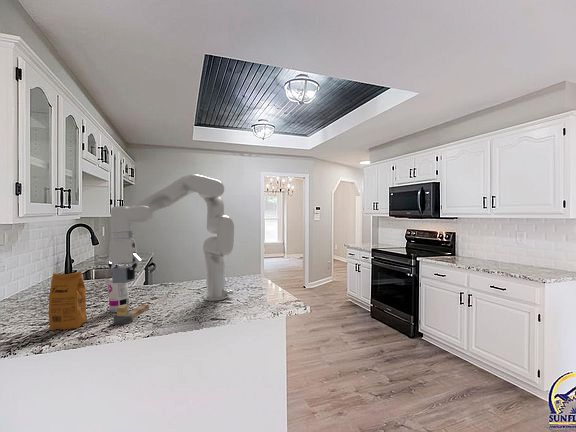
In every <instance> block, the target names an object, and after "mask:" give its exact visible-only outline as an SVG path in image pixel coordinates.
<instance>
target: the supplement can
mask: <svg viewBox="0 0 576 432" xmlns="http://www.w3.org/2000/svg"><path fill="white" fill-rule="evenodd" d="M107 286H108V288H107V289H108V305H109V306H108V307H109V308H108V309H109V311H110V312H111V313H117V307H119V306H121V305H128V309H129V308H130V296H129V282H128V283H113V282H112V277H111V278H109V280H108V282H107Z"/></svg>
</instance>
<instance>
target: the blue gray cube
mask: <svg viewBox="0 0 576 432" xmlns="http://www.w3.org/2000/svg"><path fill="white" fill-rule="evenodd" d="M129 270H130V269H129V267H128V265H118V267H115V268H112V270H111V278H112V282H113V283H128V284H129V283H130V282H133V281H135V280H136V276H135V277H134V279H131V280H129V273H128V271H129Z"/></svg>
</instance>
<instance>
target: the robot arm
mask: <svg viewBox="0 0 576 432" xmlns="http://www.w3.org/2000/svg"><path fill="white" fill-rule="evenodd" d="M224 192H225V186H224V183H223V182H222V181H221V180H219V179H216V178H213V177H207V176H204V175H200V174H196V173H195V174H194V173H192V174H186V175H183V176H181V177H179V178H178V179H175V180H174V181H172V182H170V183H169V184H168V185H166V186H164V187H162V188H161V189H159V190H158V191H156V192H154V193H153V194H152V193H151V194H150V195H149V196H147V197H145V198H143V199H141V200H139V201H138V202H136V203H134V204H133V205H132V206H128V205H127V206H126V205H123V206H121V205H120V206H119V205H118V206H113V207H111V209H110V223H111V225H110V226H111V227H110V228H111V239H110V242H109V250H108V257H107V258H106V259H105V260H104V263H105V264H106V265H107V266H108V267H109V268H110V270H111V271H112V268H115V267H119V266H120V265H119V264H121V265H122V264H124V265H126V264H127V266H128V267H129V269H130V270H129V271H128V273H129V280H131V279H134V277H135V278H136V272H135V271H136V270H135V269H136V268H137V267H138V266H139V265H140V264H141V263H142V259H141V258H140V257H139V256H138V249H137V242H136V240H135V238H133V237H135V236H136V233H135V232H133V223H135V224H136V223H137V224H145V223H148V222H150V221H151V220H152V219H153V216H154V214H153V213H155V212H156V211H159V210H162V209H166V208H168V207H170V206H171V207H172V206H173V205H175V204H176V203H177V202H179V201H181V200H182V199H184V198H185V197H187V196H188V195H190V194H192V193H193V194H194V193H197V194H198V195H199V196H200V197H201V198H202V199H203V200H204V202H205V204H206V207H207V209H206V211H207V212H206V213H207V214H206V229H207V232H209V233H210V234H212V235H213V234H215V235H216V236H215V235H214V236H209V237H207V238H206V239H205V240H204V241H203V244H202V250H203V254H204V261H205V262H204V263H205V279H206V282H205V283H206V294H204V295H203V299H204V300H205V301H209V302H217V301H222V300H225V299H228V298H229V296H230V295H234V294H235V293H234V292H235V291H234V290H233V289H228V287H226V271H225V269H226V268H225V267H226V264H225V258H224V257H228V256H230V255H231V253H232V252H233V249H234V245H235V244H234V238H235V223H234V221H233V219H232V218H231V217H230V216H228V215H226V214H225V204H224V200H223V198H222V197H221V196H222V195H224Z"/></svg>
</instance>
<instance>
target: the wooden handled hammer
mask: <svg viewBox="0 0 576 432" xmlns="http://www.w3.org/2000/svg"><path fill="white" fill-rule="evenodd" d="M149 309H150V306H149V304H140V305H138V306H137V307H134V308H133V309H131V310H129V308H128V305H121V306H119V307H117V312H116V314H114V315H113V325H114V326H124V324H125V325H129V324H131V323H132V322H133V320H134V319H135V318H137V317H138V316H140V315H142V314H143V313H144V311H145V312H146V311H148V310H149ZM136 316H137V317H136ZM130 322H131V323H130Z"/></svg>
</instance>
